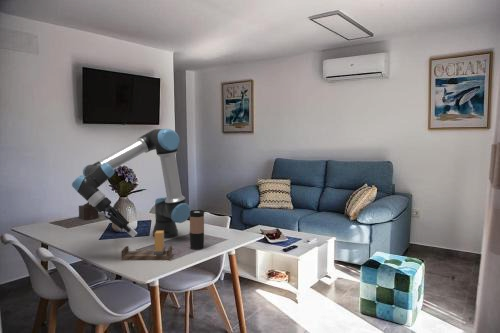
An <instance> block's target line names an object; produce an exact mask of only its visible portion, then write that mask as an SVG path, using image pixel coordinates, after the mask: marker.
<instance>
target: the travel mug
mask: <svg viewBox="0 0 500 333" xmlns="http://www.w3.org/2000/svg"><path fill="white" fill-rule="evenodd" d="M204 243H205V211H204V210H201V209H192V210H191V211H190V216H189V246H190V247H189V248H190V249H191V250H196V251H197V250H202V249H204V246H205V244H204Z"/></svg>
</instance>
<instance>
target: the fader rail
mask: <svg viewBox="0 0 500 333" xmlns="http://www.w3.org/2000/svg"><path fill="white" fill-rule="evenodd" d="M154 251H155V250H129V245H126V246H124V247H123V249H122V250H121V251H120V252H121V254H120V255H121V261H170V260H171V258H172V256H173V245H169V247H168V248H167V250H165V252H164V254H163V255H154Z"/></svg>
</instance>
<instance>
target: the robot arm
mask: <svg viewBox="0 0 500 333" xmlns="http://www.w3.org/2000/svg"><path fill="white" fill-rule="evenodd" d="M178 134H179V133H177V132H176V131H175V130H173V129H170V128H156V129H153V130H150V131H148V132H147V133H145V134H143V135H141V136H139V137H137V140H135V141H134V142H132V143H130V144H128V145H125V147H123V148H121V149H119V150H117V151H116V152H113V153H111V154H109V155H107V156H106V157H104V158H102V159H100V160H99V161H97V162H94V163H93V164H88V165H86V166H84V167H83V169H82V175H79V176H78V177H76V178H75V179H74V180H73V181H72V182H71V187H72V188H73V189H74V191H76V192H77V193H78V194H79V195H80V196H81V197H82V198H83V199H84V200H85V201H87V203H88V202H89V204H91V205H92V206H93V207H94V206H95V209H96V210H97V211H98V214H99V213H100V214H101V213H103V214H104V218H105V219H107V220H109V222H111V223H113V225H115V226H116V227H118V228H119V229H120V230H122V231H123V230H124V231H125V232H126V233H127V234H128V235H129V236H131V237H132V238H134V237H135V236H137V235H138V232H137V231H136V230H135V229H134V228H133V227H132V226H131V225H130V224H129V223H130V222H129V221H128V220H127V219H126V218H125V217H124V215H123V214H122V213H121V211H120V210H119V209H118V208H117V207H113V206H112V205H111V204H112V201H111V200H110V199H109V198H108V197H106V195H105V194H104V193H103V192H102V191H101V190H100V189H99V188H100V187H101V186H102V185H103V184H104V183H105V182H106V181H108V180H109V179H111V178H112V176H114V174H115V172H116V171H115V169H117V168H118V167H120V166H122V165H123V164H125V163H127V162H129V161H131V160H133V159H134V158H136V157H138V156H140V155H142V154H144V153H146V154H147V153H149V152H151V151H153V150H155V152H156V155H157V156H158V157H159V158H160V159H159V160H160V164H161V170H162V176H163V182H164V189H165V194H166V197H158V198H156V199H155V204H154V207H155V208H154V210H155V211H154V213H155V217H154V218H155V223H154V227H153V231H152V236H153V237H154V238H155V232H156V231H164V239H167V238H174V237H177V236H178V235H179V230H178V228H177V224H183V223H185V222H186V221H187V220H188V219H189V218H190V211H192V210H191V206H190V205H189V204H188V203H187V202H186V201H187V200H186V196H184V195H183V194H182V187H181V183H180V182H181V181H180V175H179V168H178V162H177V156H176V155H177V153H178V146H179V145H180V136H179V135H178ZM176 223H177V224H176Z"/></svg>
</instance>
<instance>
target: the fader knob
mask: <svg viewBox="0 0 500 333" xmlns="http://www.w3.org/2000/svg"><path fill="white" fill-rule="evenodd" d="M153 251H154V255H163V254H164V252H165V251H166V248H165V238H164V231H156V232H155V237H154V250H153Z"/></svg>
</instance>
